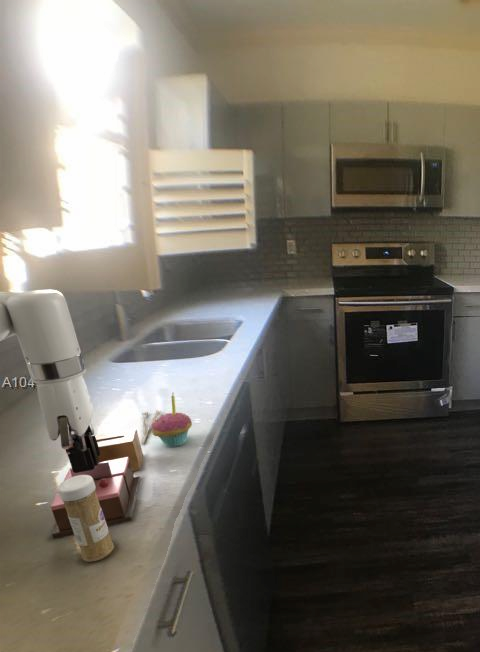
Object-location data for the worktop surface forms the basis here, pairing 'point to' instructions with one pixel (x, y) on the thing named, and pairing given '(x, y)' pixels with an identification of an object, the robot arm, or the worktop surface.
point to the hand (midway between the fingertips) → (87, 462)
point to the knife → (100, 468)
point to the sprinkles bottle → (86, 517)
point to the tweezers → (149, 425)
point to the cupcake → (172, 427)
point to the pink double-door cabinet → (105, 497)
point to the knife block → (121, 447)
